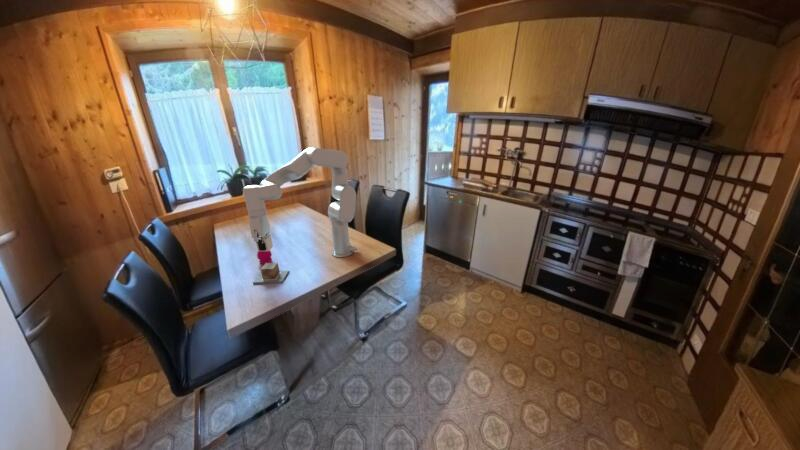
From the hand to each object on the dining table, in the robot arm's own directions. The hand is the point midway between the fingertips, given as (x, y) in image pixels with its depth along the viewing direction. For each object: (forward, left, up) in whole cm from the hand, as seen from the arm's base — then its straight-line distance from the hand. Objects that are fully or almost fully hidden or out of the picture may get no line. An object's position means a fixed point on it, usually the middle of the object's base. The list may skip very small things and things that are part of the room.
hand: (265, 247), depth 128 cm
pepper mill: (+10, -17, -18) cm, 27 cm away
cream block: (0, 0, -1) cm, 1 cm away
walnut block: (0, 0, -16) cm, 16 cm away
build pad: (0, 0, -18) cm, 18 cm away
